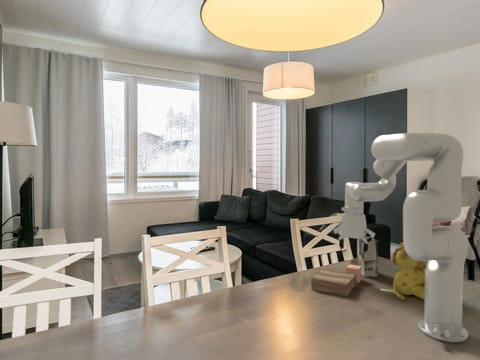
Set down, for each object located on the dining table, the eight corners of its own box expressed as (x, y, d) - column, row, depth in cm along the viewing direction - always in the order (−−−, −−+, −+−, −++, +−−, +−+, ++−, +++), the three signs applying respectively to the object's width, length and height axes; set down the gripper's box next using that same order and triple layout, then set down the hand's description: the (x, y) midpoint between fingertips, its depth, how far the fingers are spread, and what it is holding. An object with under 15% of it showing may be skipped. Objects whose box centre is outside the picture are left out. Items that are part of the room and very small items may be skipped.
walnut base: (346, 296, 123) (346, 284, 122) (311, 289, 130) (311, 278, 130) (355, 284, 134) (355, 274, 134) (322, 278, 142) (322, 268, 142)
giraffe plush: (460, 304, 115) (461, 251, 114) (391, 302, 117) (391, 250, 116) (431, 283, 135) (432, 238, 134) (373, 282, 137) (373, 237, 136)
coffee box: (378, 276, 143) (378, 240, 143) (363, 277, 143) (364, 241, 143) (370, 270, 152) (370, 236, 152) (356, 270, 153) (356, 236, 152)
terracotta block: (358, 283, 136) (358, 269, 136) (346, 281, 139) (346, 267, 139) (361, 279, 140) (361, 266, 140) (349, 277, 143) (349, 264, 143)
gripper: (331, 210, 140) (330, 249, 141) (373, 214, 130) (372, 255, 132) (336, 208, 146) (335, 245, 147) (377, 211, 137) (376, 251, 138)
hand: (353, 250), depth 139 cm, fingers open, 9 cm apart
